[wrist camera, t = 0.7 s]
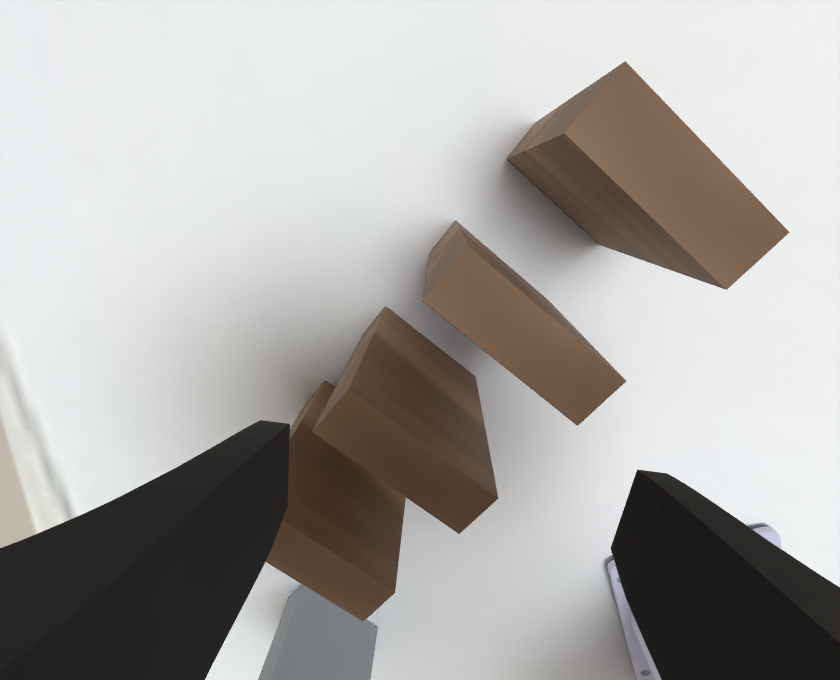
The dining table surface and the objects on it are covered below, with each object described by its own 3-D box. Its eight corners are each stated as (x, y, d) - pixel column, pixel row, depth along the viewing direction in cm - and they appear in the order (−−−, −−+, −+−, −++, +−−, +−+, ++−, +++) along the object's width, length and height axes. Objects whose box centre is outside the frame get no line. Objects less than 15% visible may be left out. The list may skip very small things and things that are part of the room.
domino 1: (451, 401, 20) (459, 534, 12) (363, 333, 19) (312, 432, 11) (475, 376, 19) (498, 498, 12) (385, 306, 18) (348, 388, 11)
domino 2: (390, 465, 21) (363, 621, 13) (305, 404, 20) (224, 535, 13) (411, 443, 21) (394, 592, 13) (325, 380, 20) (253, 501, 12)
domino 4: (520, 328, 18) (577, 425, 11) (429, 252, 18) (422, 301, 10) (548, 300, 18) (626, 381, 10) (455, 220, 17) (468, 246, 10)
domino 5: (600, 245, 17) (726, 289, 10) (506, 158, 16) (564, 132, 9) (631, 212, 17) (789, 232, 9) (536, 121, 16) (624, 61, 8)
